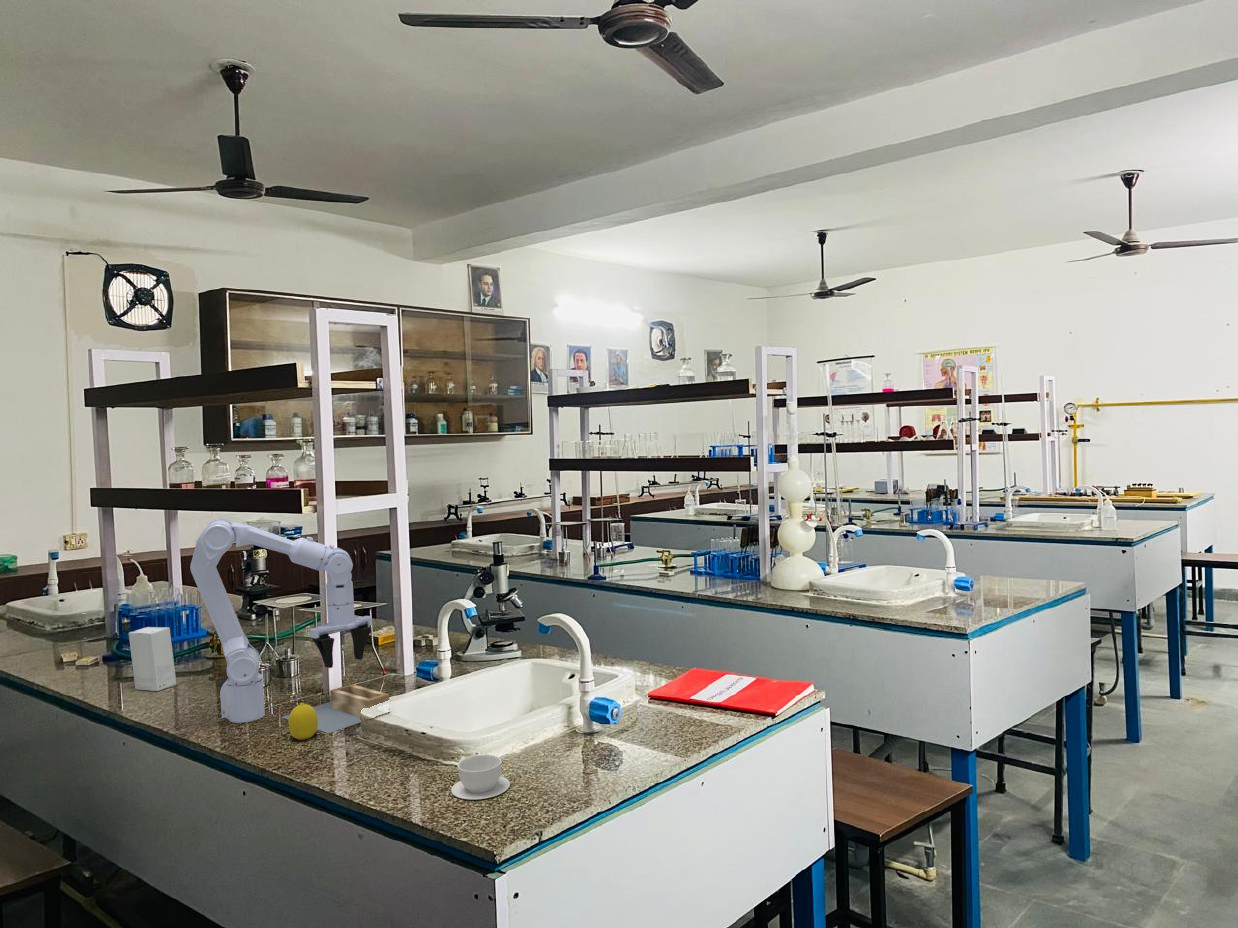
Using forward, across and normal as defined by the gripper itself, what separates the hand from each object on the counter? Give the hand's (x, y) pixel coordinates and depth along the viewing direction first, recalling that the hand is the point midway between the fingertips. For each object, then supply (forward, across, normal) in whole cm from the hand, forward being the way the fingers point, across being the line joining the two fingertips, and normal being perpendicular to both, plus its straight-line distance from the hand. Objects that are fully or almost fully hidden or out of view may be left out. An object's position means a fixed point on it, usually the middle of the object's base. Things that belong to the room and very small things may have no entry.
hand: (343, 662), depth 195 cm
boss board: (+10, -6, -6) cm, 13 cm away
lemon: (+10, -18, -13) cm, 24 cm away
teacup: (+10, -13, -60) cm, 62 cm away
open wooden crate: (+9, -2, -8) cm, 12 cm away
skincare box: (+10, -18, +56) cm, 60 cm away
